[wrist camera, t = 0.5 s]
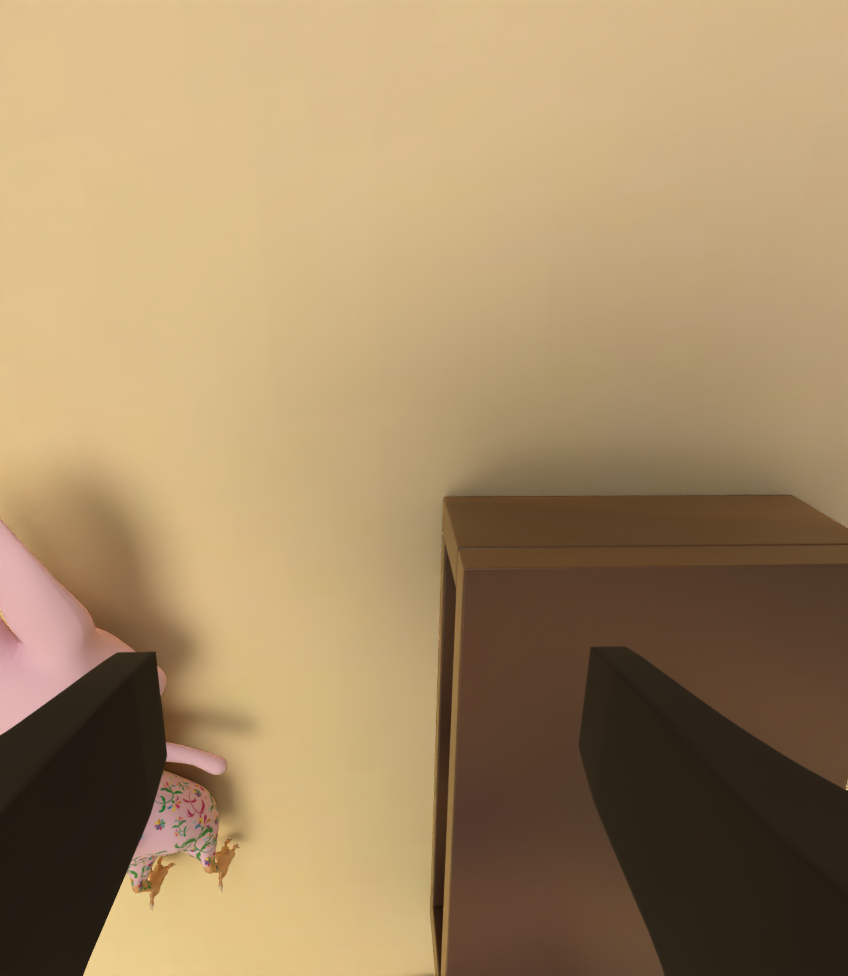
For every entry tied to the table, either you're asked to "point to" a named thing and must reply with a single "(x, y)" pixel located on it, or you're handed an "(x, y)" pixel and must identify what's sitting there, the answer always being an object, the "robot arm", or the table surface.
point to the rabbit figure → (63, 660)
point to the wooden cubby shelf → (561, 689)
